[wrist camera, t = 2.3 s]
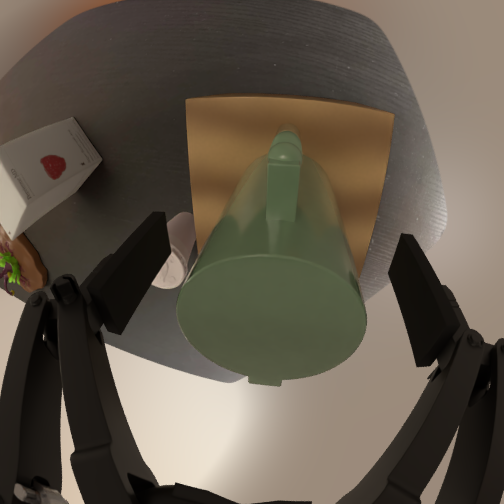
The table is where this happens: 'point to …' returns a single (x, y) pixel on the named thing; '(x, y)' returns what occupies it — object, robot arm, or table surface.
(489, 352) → the robot arm
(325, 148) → the stand
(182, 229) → the smoothie
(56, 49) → the table surface
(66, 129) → the rectangular carton
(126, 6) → the table surface
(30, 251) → the plant
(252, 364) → the jug
